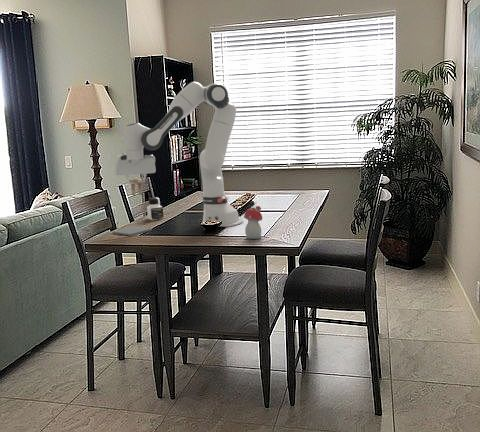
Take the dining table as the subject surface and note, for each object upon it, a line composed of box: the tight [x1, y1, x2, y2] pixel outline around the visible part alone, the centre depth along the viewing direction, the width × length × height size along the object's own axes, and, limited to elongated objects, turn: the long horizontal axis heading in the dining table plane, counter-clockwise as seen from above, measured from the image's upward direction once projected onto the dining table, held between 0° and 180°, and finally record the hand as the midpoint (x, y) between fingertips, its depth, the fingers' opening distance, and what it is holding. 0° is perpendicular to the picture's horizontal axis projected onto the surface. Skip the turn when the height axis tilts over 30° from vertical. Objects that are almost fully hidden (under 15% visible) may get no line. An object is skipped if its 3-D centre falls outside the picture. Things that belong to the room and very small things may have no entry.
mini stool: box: [130, 178, 143, 197], centre depth 282 cm, size 6×6×8 cm
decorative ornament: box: [243, 205, 263, 240], centre depth 251 cm, size 9×7×15 cm
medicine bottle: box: [146, 197, 164, 221], centre depth 313 cm, size 7×7×12 cm
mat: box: [112, 225, 153, 237], centre depth 282 cm, size 14×14×1 cm
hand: (136, 183), depth 281 cm, fingers closed on mini stool, 5 cm apart
